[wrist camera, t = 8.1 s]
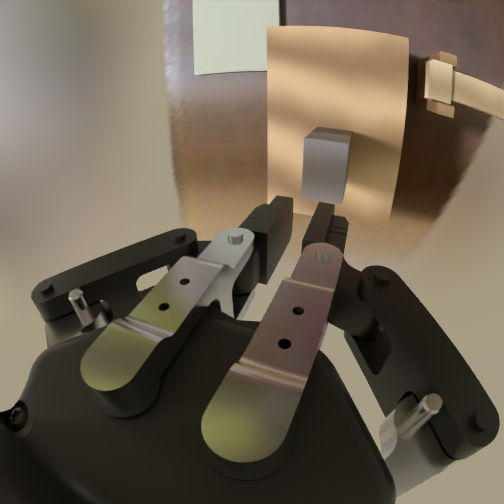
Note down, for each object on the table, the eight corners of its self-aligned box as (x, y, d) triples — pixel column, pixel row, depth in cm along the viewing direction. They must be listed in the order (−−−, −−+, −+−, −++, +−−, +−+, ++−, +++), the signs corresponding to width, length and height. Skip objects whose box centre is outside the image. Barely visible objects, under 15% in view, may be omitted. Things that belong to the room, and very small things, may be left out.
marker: (425, 62, 15) (433, 59, 13) (540, 109, 11) (554, 113, 9) (424, 97, 17) (431, 98, 15) (536, 141, 13) (550, 148, 11)
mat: (195, -27, 21) (193, -28, 21) (278, -41, 18) (276, -43, 17) (197, 75, 30) (194, 75, 30) (281, 70, 27) (279, 70, 26)
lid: (270, 28, 19) (238, 12, 14) (406, 39, 15) (422, 23, 10) (270, 204, 29) (244, 237, 24) (386, 224, 25) (389, 265, 20)
